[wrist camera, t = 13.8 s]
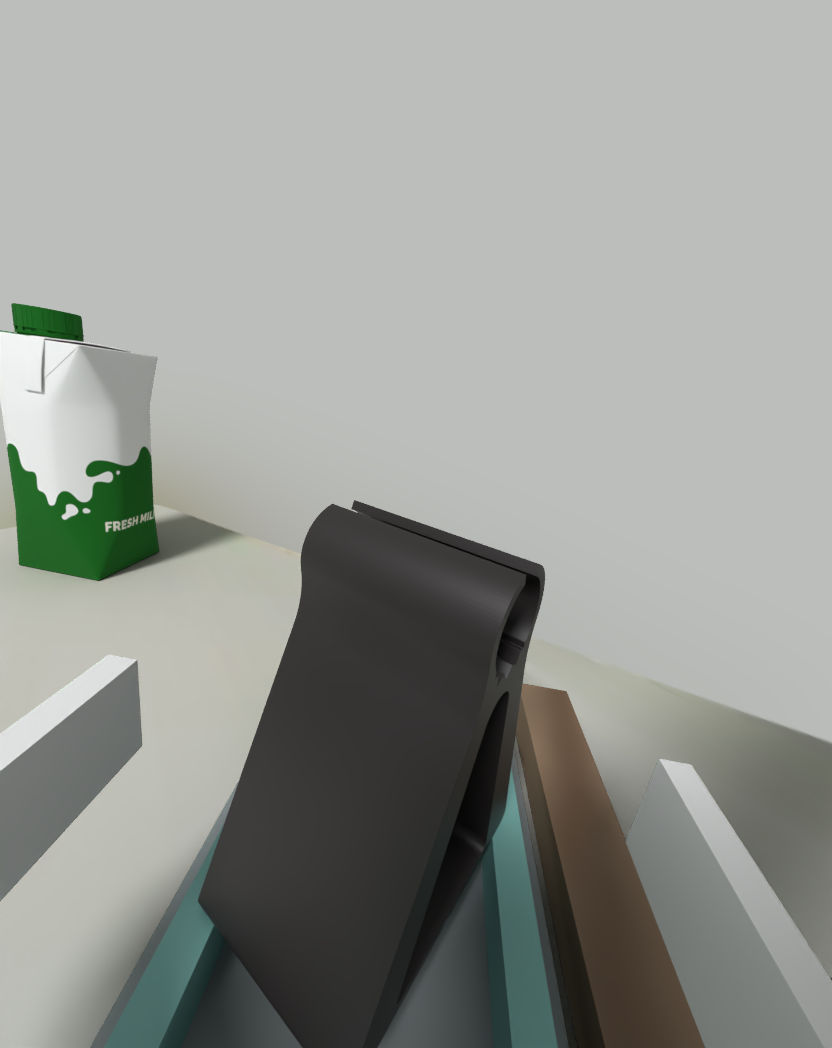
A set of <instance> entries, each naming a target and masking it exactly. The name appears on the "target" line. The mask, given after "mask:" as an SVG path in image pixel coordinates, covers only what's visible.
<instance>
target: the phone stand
mask: <svg viewBox="0 0 832 1048" xmlns="http://www.w3.org/2000/svg"><path fill="white" fill-rule="evenodd" d="M352 509H353V510H355V511H357V512H358V513H356V512H353V511H351V510H348V509H345V508H342V507H339V506H337V505H334V504H331V505H330V506H328V507H327V508H326V509H325V510H324V511H323V512H321V513H320V515H319V516H318V517H317V518H316V520H315V521H314V522H313V524H312V526H311V527H310V529H309V531H308V533H307V535H306V538H305V541H304V544H303V548H302V553H301V572H302V590H301V598H300V604H299V608H298V612H297V616H296V619H295V622H294V625H293V628H292V631H291V634H290V636H289V639H288V642H287V645H286V648H285V651H284V654H283V657H282V659H281V662H280V665H279V668H278V671H277V674H276V677H275V679H274V682H273V685H272V688H271V691H270V694H269V697H268V700H267V702H266V705H265V708H264V711H263V714H262V717H261V720H260V722H259V725H258V728H257V731H256V734H255V737H254V740H253V742H252V745H251V748H250V751H249V754H248V757H247V760H246V763H245V765H244V768H243V771H242V774H241V777H240V780H239V783H238V785H237V788H236V791H235V794H234V797H233V800H232V803H231V806H230V808H229V811H228V814H227V817H226V820H225V823H224V826H223V828H222V831H221V834H220V837H219V840H218V843H217V846H216V849H215V851H214V854H213V857H212V860H211V863H210V866H209V869H208V871H207V874H206V877H205V880H204V883H203V886H202V889H201V891H200V894H199V897H198V903H199V904H200V906H201V907H202V909H203V910H204V911H205V913H206V914H207V916H208V917H209V918H210V920H211V921H212V923H213V924H214V925H215V927H216V928H217V930H218V931H219V932H220V934H221V935H222V937H223V938H224V939H225V941H226V942H227V944H228V945H229V946H230V948H231V949H232V951H233V952H234V953H235V955H236V956H237V957H238V959H239V960H240V962H241V963H242V964H243V966H244V967H245V969H246V970H247V971H248V973H249V974H250V976H251V977H252V978H253V980H254V981H255V983H256V984H257V985H258V987H259V988H260V990H261V991H262V992H263V994H264V995H265V997H266V998H267V999H268V1001H269V1002H270V1004H271V1005H272V1006H273V1008H274V1009H275V1011H276V1012H277V1013H278V1015H279V1016H280V1018H281V1019H282V1020H283V1022H284V1023H285V1025H286V1026H287V1027H288V1029H289V1030H290V1031H291V1033H292V1034H293V1036H294V1037H295V1038H296V1040H297V1041H298V1043H299V1044H300V1045H301V1047H302V1048H378V1046H379V1044H380V1042H381V1040H382V1039H383V1037H384V1035H385V1033H386V1031H387V1029H388V1028H389V1026H390V1024H391V1022H392V1020H393V1018H394V1017H395V1015H396V1013H397V1011H398V1009H399V1007H400V1006H401V1004H402V1002H403V1000H404V998H405V996H406V995H407V993H408V991H409V989H410V987H411V986H412V984H413V982H414V980H415V978H416V976H417V975H418V973H419V971H420V969H421V967H422V965H423V964H424V962H425V960H426V958H427V956H428V954H429V953H430V951H431V949H432V947H433V945H434V943H435V942H436V940H437V938H438V936H439V934H440V932H441V931H442V928H443V926H444V923H445V921H446V919H447V918H449V916H450V914H451V912H452V911H453V909H454V907H455V905H456V903H457V901H458V900H459V898H460V896H461V894H462V892H463V890H464V889H465V887H466V885H467V883H468V881H469V879H470V878H471V876H472V874H473V872H474V870H475V868H476V867H477V865H478V863H479V861H480V859H481V858H482V856H483V854H484V852H485V850H486V848H487V847H488V845H489V843H490V841H491V839H492V837H493V836H494V834H495V832H496V830H497V828H498V826H499V825H500V823H501V820H502V818H503V816H504V813H505V809H506V802H507V795H508V787H509V780H510V772H511V765H512V757H513V750H514V743H515V735H516V728H517V720H518V713H519V705H520V698H521V691H522V683H523V676H524V668H525V662H526V657H527V652H528V648H529V643H530V640H531V636H532V632H533V629H534V625H535V622H536V619H537V615H538V612H539V609H540V605H541V601H542V596H543V591H544V584H545V572H544V568H543V566H542V565H540V564H537V563H534V562H531V561H528V560H526V559H522V558H520V557H517V556H514V555H511V554H508V553H505V552H502V551H500V550H497V549H494V548H491V547H488V546H485V545H482V544H479V543H476V542H474V541H471V540H467V539H465V538H462V537H459V536H456V535H453V534H450V533H447V532H444V531H441V530H439V529H436V528H433V527H430V526H427V525H424V524H421V523H419V522H416V521H413V520H410V519H407V518H404V517H401V516H398V515H395V514H393V513H390V512H387V511H384V510H381V509H378V508H375V507H372V506H370V505H367V504H364V503H361V502H358V501H354V503H353V506H352Z"/></svg>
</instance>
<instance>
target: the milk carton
mask: <svg viewBox="0 0 832 1048" xmlns="http://www.w3.org/2000/svg"><path fill="white" fill-rule="evenodd" d="M12 314H13V322H14V325H15V326H14V328H15V332H17V333H14V332H7V331H0V401H1V409H2V415H3V422H4V429H5V436H6V443H7V449H8V457H9V463H10V471H11V478H12V485H13V492H14V499H15V506H16V522H17V538H18V554H19V565H23V566H28V567H33V568H38V569H43V570H48V571H53V572H58V573H63V574H68V575H73V576H78V577H83V578H88V579H93V580H98V581H99V580H101V579H103V578H105V577H107V576H109V575H111V574H113V573H115V572H117V571H120V570H122V569H124V568H126V567H128V566H130V565H132V564H134V563H136V562H138V561H140V560H143V559H145V558H147V557H149V556H151V555H153V554H155V553H157V552H159V546H158V539H157V531H156V523H155V515H154V507H153V487H152V463H151V439H150V414H149V413H150V411H149V410H150V399H151V393H152V387H153V381H154V375H155V369H156V363H157V357H155V356H148V355H142V354H136V353H131V352H130V351H128V350H123V349H119V348H114V347H110V346H105V345H99V344H94V343H88V342H84V341H83V337H82V336H83V329H82V318H81V316H78V315H75V314H70V313H66V312H61V311H56V310H51V309H46V308H40V307H35V306H29V305H22V304H15V303H13V304H12Z"/></svg>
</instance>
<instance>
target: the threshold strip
mask: <svg viewBox="0 0 832 1048" xmlns="http://www.w3.org/2000/svg"><path fill="white" fill-rule="evenodd" d="M516 736H517V741H518V746H519V751H520V756H521V761H522V766H523V771H524V776H525V782H526V787H527V792H528V797H529V802H530V807H531V812H532V817H533V822H534V827H535V832H536V837H537V843H538V848H539V853H540V858H541V863H542V868H543V873H544V878H545V883H546V888H547V893H548V898H549V904H550V909H551V914H552V919H553V924H554V929H555V934H556V939H557V944H558V949H559V954H560V960H561V965H562V970H563V975H564V980H565V985H566V990H567V995H568V1000H569V1005H570V1010H571V1015H572V1021H573V1026H574V1031H575V1036H576V1041H577V1046H578V1048H705V1046H704V1043H703V1041H702V1038H701V1035H700V1033H699V1030H698V1028H697V1025H696V1023H695V1020H694V1017H693V1015H692V1012H691V1010H690V1007H689V1004H688V1002H687V999H686V997H685V994H684V992H683V989H682V986H681V984H680V981H679V979H678V976H677V973H676V971H675V968H674V966H673V963H672V961H671V958H670V955H669V953H668V950H667V948H666V945H665V942H664V940H663V937H662V935H661V932H660V930H659V927H658V924H657V922H656V919H655V917H654V914H653V911H652V909H651V906H650V904H649V901H648V899H647V896H646V893H645V891H644V888H643V886H642V883H641V880H640V878H639V875H638V873H637V870H636V868H635V865H634V862H633V860H632V857H631V855H630V852H629V850H628V847H627V844H626V842H625V841H626V840H625V837H624V835H623V832H622V830H621V827H620V825H619V822H618V820H617V817H616V815H615V812H614V810H613V807H612V804H611V802H610V799H609V797H608V794H607V792H606V789H605V787H604V784H603V782H602V779H601V777H600V774H599V772H598V769H597V767H596V764H595V762H594V759H593V757H592V754H591V752H590V749H589V747H588V744H587V742H586V739H585V737H584V734H583V732H582V729H581V727H580V724H579V722H578V719H577V717H576V714H575V712H574V709H573V707H572V704H571V702H570V699H569V697H568V694H567V692H566V691H562V690H556V689H550V688H545V687H539V686H533V685H528V684H522V691H521V698H520V705H519V713H518V720H517V728H516Z"/></svg>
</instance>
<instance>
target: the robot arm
mask: <svg viewBox="0 0 832 1048" xmlns="http://www.w3.org/2000/svg"><path fill="white" fill-rule="evenodd" d="M141 746H142V732H141V715H140V698H139V681H138V663H137V660H135V659H129V658H124V657H119V656H114V655H107V656H106V657H105V658H103V659H102V660H100V661H99V662H98V663H96V664H95V665H94V666H92V667H91V668H90V669H88V670H87V671H85V672H84V673H83V674H81V675H80V676H79V677H77V678H76V679H74V680H73V681H72V682H70V683H69V684H68V685H66V686H65V687H63V688H62V689H61V690H59V691H58V692H57V693H55V694H54V695H52V696H51V697H50V698H48V699H47V700H46V701H44V702H43V703H41V704H40V705H39V706H37V707H36V708H35V709H33V710H32V711H30V712H29V713H28V714H26V715H25V716H24V717H22V718H21V719H19V720H18V721H17V722H15V723H14V724H13V725H11V726H10V727H8V728H7V729H6V730H4V731H3V732H2V733H0V901H1V900H2V899H3V898H4V897H5V896H6V895H7V893H8V892H9V891H10V890H11V889H12V888H13V887H14V886H15V885H16V884H17V883H18V881H19V880H20V879H21V878H22V877H23V876H24V875H25V874H26V873H27V872H28V870H29V869H30V868H31V867H32V866H33V865H34V864H35V863H36V862H37V861H38V859H39V858H40V857H41V856H42V855H43V854H44V853H45V852H46V851H47V850H48V848H49V847H50V846H51V845H52V844H53V843H54V842H55V841H56V840H57V839H58V838H59V836H60V835H61V834H62V833H63V832H64V831H65V830H66V829H67V828H68V827H69V825H70V824H71V823H72V822H73V821H74V820H75V819H76V818H77V817H78V816H79V814H80V813H81V812H82V811H83V810H84V809H85V808H86V807H87V806H88V805H89V804H90V802H91V801H92V800H93V799H94V798H95V797H96V796H97V795H98V794H99V793H100V791H101V790H102V789H103V788H104V787H105V786H106V785H107V784H108V783H109V782H110V780H111V779H112V778H113V777H114V776H115V775H116V774H117V773H118V772H119V771H120V769H121V768H122V767H123V766H124V765H125V764H126V763H127V762H128V761H129V760H130V759H131V757H132V756H133V755H134V754H135V753H136V752H137V751H138V750H139V749H140V748H141ZM625 842H626V844H627V847H628V850H629V852H630V855H631V857H632V860H633V862H634V865H635V868H636V870H637V873H638V875H639V878H640V880H641V883H642V886H643V888H644V891H645V893H646V896H647V899H648V901H649V904H650V906H651V909H652V911H653V914H654V917H655V919H656V922H657V924H658V927H659V930H660V932H661V935H662V937H663V940H664V942H665V945H666V948H667V950H668V953H669V955H670V958H671V961H672V963H673V966H674V968H675V971H676V973H677V976H678V979H679V981H680V984H681V986H682V989H683V992H684V994H685V997H686V999H687V1002H688V1004H689V1007H690V1010H691V1012H692V1015H693V1017H694V1020H695V1023H696V1025H697V1028H698V1030H699V1033H700V1035H701V1038H702V1041H703V1043H704V1046H705V1048H832V978H830V977H829V975H828V974H827V972H826V971H825V969H824V968H823V966H822V965H821V963H820V962H819V960H818V958H817V957H816V955H815V954H814V952H813V951H812V949H811V948H810V946H809V945H808V943H807V942H806V940H805V938H804V937H803V935H802V934H801V932H800V931H799V929H798V928H797V926H796V925H795V923H794V922H793V920H792V919H791V917H790V915H789V914H788V912H787V911H786V909H785V908H784V906H783V905H782V903H781V902H780V900H779V899H778V897H777V895H776V894H775V892H774V891H773V889H772V888H771V886H770V885H769V883H768V882H767V880H766V879H765V877H764V876H763V874H762V872H761V871H760V869H759V868H758V866H757V865H756V863H755V862H754V860H753V859H752V857H751V856H750V854H749V852H748V851H747V849H746V848H745V846H744V845H743V843H742V842H741V840H740V839H739V837H738V836H737V834H736V833H735V831H734V829H733V828H732V826H731V825H730V823H729V822H728V820H727V819H726V817H725V816H724V814H723V813H722V811H721V809H720V808H719V806H718V805H717V803H716V802H715V800H714V799H713V797H712V796H711V794H710V793H709V791H708V790H707V788H706V786H705V785H704V783H703V782H702V780H701V779H700V777H699V776H698V774H697V773H696V771H695V770H694V768H693V766H692V765H690V764H685V763H680V762H674V761H669V760H664V759H659V760H658V762H657V765H656V767H655V770H654V772H653V775H652V777H651V780H650V782H649V785H648V787H647V790H646V792H645V794H644V797H643V799H642V802H641V804H640V807H639V809H638V812H637V814H636V817H635V819H634V822H633V824H632V827H631V829H630V831H629V834H628V836H627V839H626V841H625Z"/></svg>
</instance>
